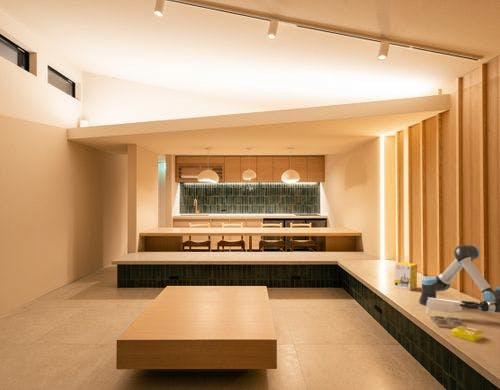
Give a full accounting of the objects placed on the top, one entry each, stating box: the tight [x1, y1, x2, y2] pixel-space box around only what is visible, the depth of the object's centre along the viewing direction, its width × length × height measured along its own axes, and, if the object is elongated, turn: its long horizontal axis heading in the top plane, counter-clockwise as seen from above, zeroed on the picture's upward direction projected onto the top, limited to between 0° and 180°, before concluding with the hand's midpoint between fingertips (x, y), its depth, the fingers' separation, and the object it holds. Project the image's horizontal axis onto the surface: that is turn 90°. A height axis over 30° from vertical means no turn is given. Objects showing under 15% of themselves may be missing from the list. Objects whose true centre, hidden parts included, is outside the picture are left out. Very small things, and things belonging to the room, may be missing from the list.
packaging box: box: [393, 261, 418, 291], centre depth 375 cm, size 16×16×25 cm
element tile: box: [451, 326, 485, 343], centre depth 242 cm, size 15×15×5 cm
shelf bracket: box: [425, 297, 463, 314], centre depth 282 cm, size 6×25×13 cm, turn 84°
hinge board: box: [430, 315, 470, 330], centre depth 265 cm, size 20×20×4 cm
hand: (454, 303), depth 281 cm, fingers closed on shelf bracket, 4 cm apart
